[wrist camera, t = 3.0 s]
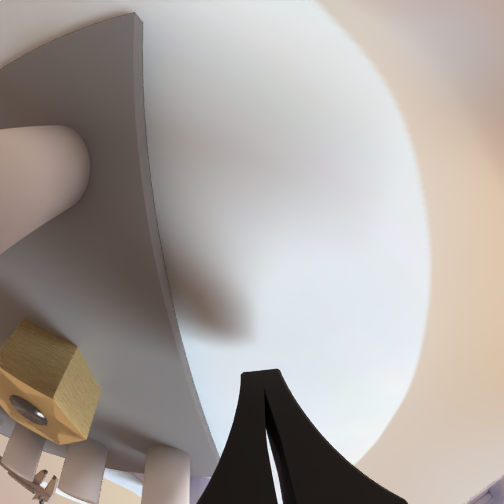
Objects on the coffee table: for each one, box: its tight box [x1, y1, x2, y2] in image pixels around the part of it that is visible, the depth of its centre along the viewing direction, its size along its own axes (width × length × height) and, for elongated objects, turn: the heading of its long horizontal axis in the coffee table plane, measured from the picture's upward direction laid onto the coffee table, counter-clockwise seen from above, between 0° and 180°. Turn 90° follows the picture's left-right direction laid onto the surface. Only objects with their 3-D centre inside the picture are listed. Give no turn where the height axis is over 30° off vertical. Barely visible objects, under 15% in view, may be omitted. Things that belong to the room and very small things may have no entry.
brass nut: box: [0, 318, 102, 445], centre depth 9 cm, size 6×5×3 cm
